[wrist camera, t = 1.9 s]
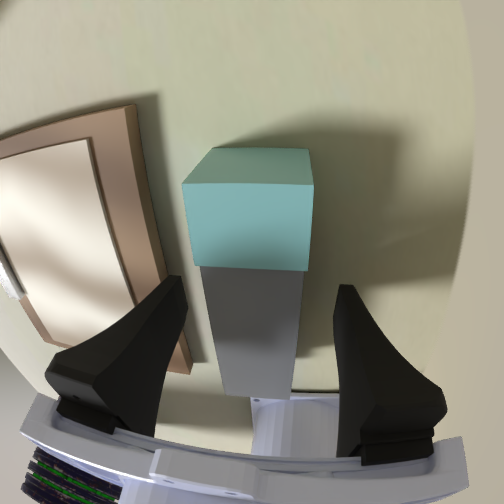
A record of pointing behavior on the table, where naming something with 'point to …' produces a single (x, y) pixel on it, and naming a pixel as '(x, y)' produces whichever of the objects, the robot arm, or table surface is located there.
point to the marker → (252, 260)
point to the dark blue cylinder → (65, 483)
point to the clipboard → (80, 226)
